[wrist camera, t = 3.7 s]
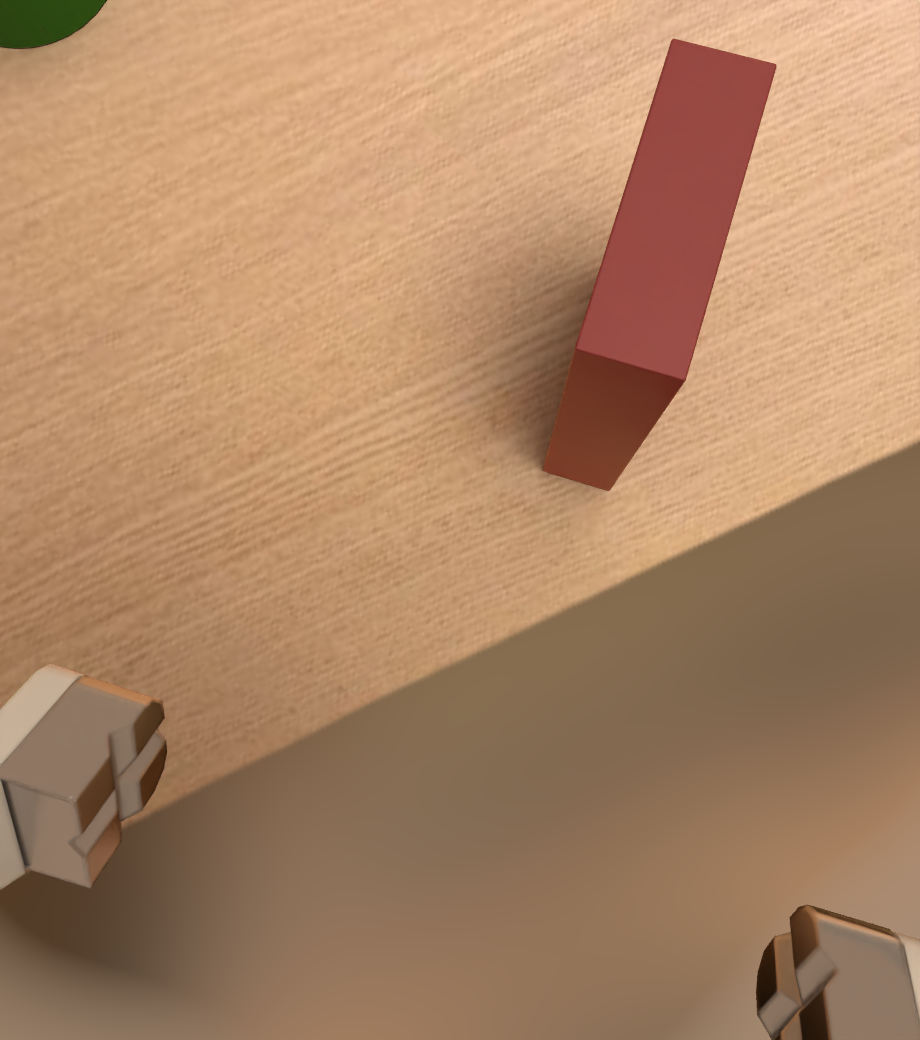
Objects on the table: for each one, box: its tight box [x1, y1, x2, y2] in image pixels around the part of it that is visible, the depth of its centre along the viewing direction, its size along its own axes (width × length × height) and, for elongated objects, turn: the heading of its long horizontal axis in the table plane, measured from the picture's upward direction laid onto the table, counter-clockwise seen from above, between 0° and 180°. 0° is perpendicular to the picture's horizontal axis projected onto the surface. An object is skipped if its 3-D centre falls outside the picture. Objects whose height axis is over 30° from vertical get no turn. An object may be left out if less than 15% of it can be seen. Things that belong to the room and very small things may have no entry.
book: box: [543, 39, 776, 491], centre depth 27 cm, size 9×3×13 cm, turn 162°
